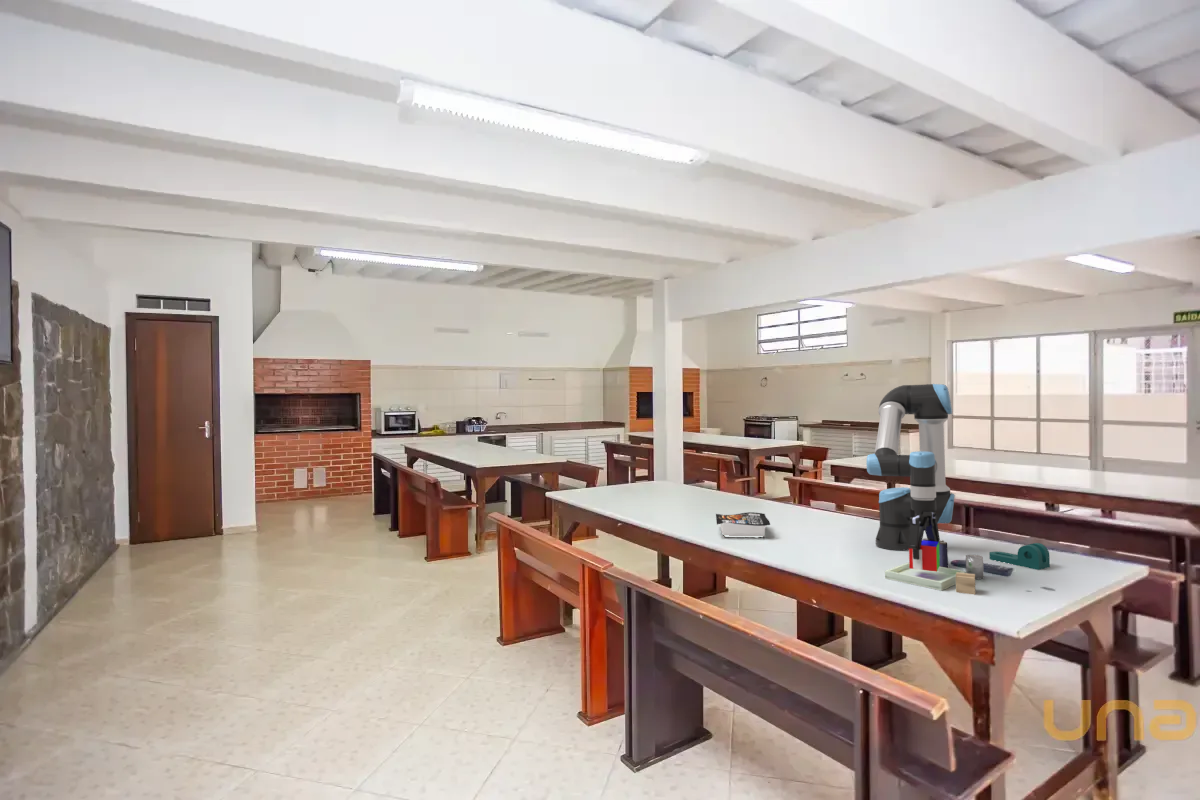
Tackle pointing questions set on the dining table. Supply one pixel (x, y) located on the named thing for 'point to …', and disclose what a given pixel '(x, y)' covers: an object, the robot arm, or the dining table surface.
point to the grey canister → (975, 566)
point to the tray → (923, 576)
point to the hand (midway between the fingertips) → (925, 566)
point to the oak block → (965, 583)
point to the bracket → (1025, 556)
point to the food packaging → (743, 524)
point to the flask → (942, 553)
